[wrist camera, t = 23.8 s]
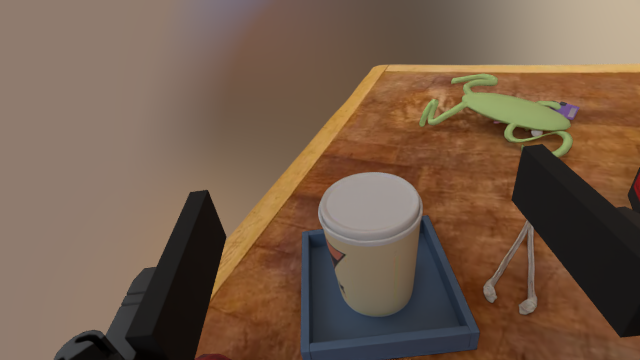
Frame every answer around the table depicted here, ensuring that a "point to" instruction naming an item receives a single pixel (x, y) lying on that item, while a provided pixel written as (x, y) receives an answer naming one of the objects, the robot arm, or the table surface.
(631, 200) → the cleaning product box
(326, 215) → the coffee cup
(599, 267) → the robot arm
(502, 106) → the figurine
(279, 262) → the table surface
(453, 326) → the dish tray
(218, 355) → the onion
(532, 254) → the tweezers
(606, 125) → the table surface
